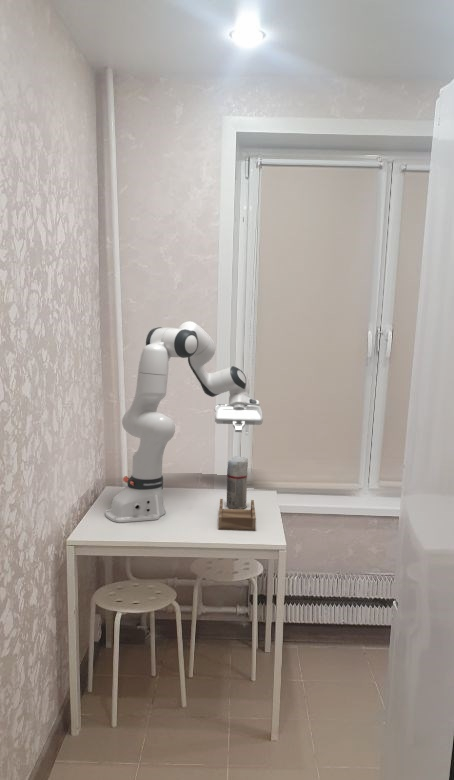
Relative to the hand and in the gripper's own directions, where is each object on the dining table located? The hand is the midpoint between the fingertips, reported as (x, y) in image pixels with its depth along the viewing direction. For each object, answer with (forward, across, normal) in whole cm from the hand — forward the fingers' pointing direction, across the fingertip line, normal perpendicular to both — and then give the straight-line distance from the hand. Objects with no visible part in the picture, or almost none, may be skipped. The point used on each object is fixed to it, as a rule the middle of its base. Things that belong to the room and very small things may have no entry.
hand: (238, 431), depth 251 cm
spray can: (+30, 0, +8) cm, 32 cm away
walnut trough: (+42, 0, -3) cm, 42 cm away
